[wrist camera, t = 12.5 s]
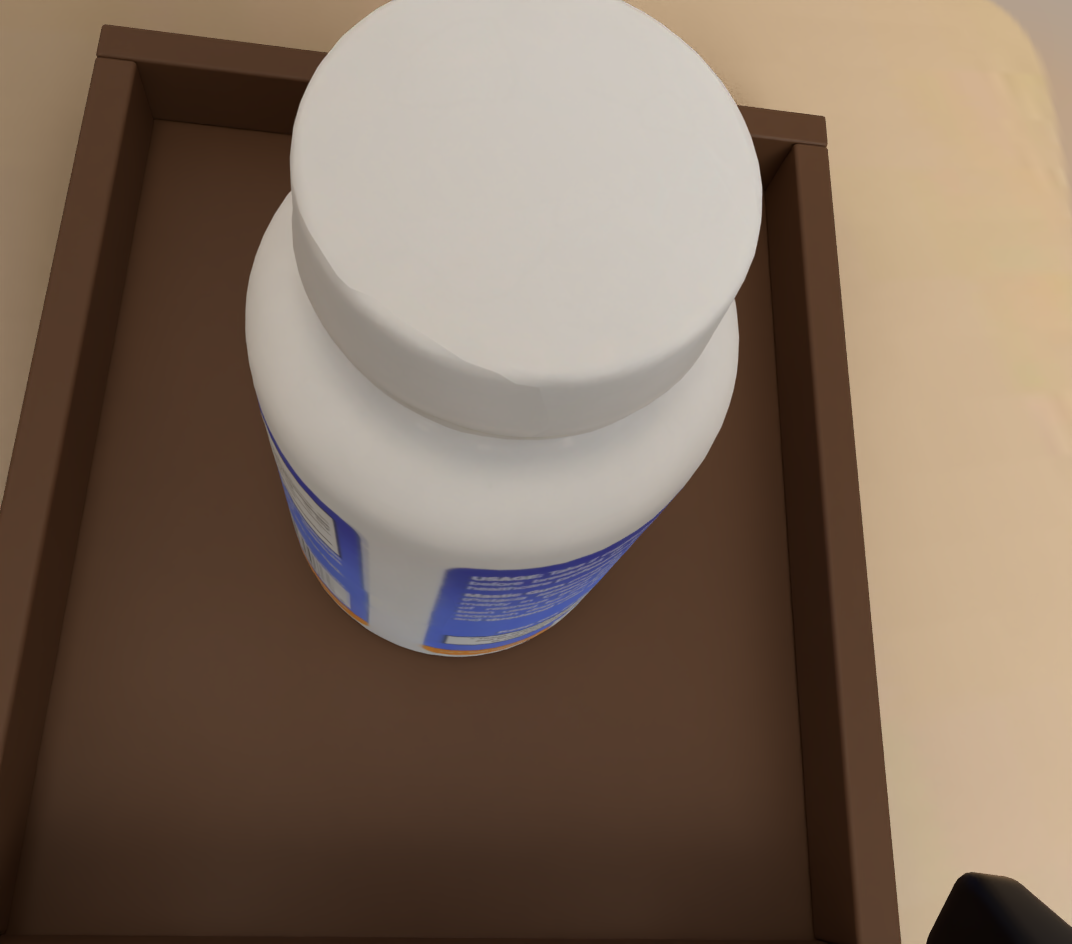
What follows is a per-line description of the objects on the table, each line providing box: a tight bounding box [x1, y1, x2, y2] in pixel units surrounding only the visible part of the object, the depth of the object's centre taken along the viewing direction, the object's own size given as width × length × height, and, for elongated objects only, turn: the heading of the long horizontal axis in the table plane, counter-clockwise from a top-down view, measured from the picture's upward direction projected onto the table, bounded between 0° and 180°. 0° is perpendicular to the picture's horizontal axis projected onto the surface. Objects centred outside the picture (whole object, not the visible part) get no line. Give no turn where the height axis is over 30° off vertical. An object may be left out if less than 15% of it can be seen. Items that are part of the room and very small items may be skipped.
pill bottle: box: [245, 0, 762, 657], centre depth 13 cm, size 5×5×10 cm
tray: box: [0, 25, 901, 944], centre depth 17 cm, size 15×13×2 cm
